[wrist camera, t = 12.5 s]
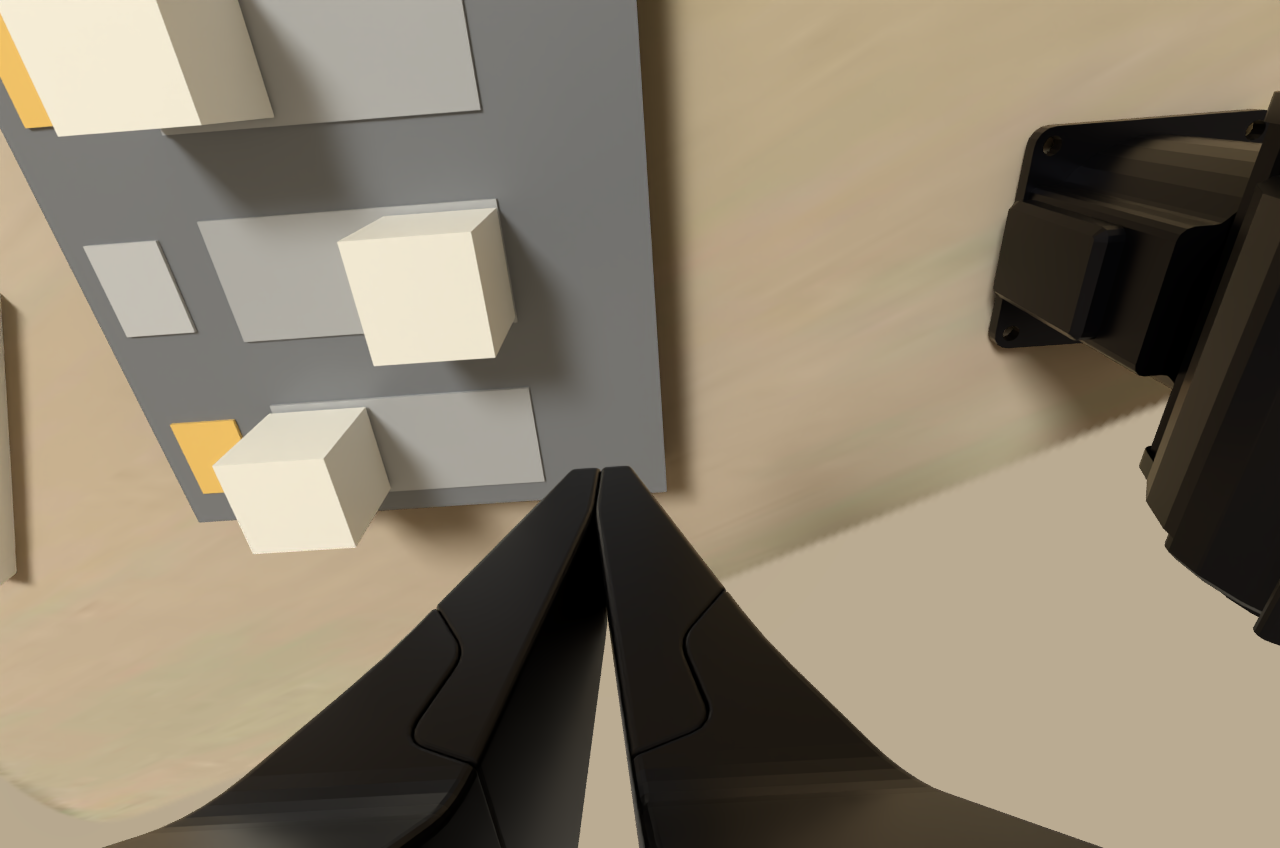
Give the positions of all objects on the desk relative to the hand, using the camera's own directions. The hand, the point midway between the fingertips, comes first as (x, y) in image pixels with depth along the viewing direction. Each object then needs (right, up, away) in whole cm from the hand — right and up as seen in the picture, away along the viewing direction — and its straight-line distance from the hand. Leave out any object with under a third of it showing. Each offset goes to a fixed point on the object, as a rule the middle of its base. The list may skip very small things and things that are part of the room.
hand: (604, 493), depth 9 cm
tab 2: (-9, 0, +11) cm, 14 cm away
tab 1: (-10, +10, +6) cm, 15 cm away
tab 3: (-5, +5, +8) cm, 11 cm away
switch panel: (-7, +6, +10) cm, 14 cm away
